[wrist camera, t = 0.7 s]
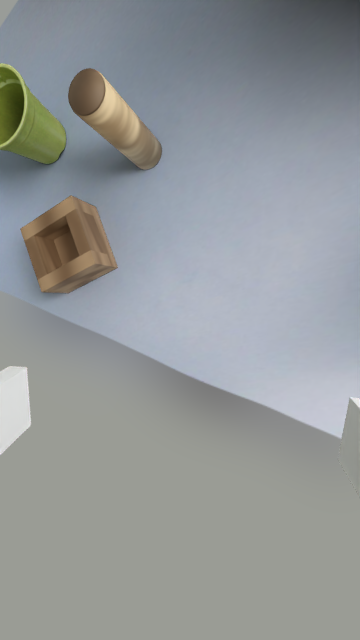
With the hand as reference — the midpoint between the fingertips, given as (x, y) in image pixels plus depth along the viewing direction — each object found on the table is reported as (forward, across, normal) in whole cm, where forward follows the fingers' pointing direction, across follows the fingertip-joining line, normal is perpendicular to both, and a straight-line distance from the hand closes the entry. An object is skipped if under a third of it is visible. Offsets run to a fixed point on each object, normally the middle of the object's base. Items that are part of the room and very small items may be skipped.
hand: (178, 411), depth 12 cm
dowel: (+31, -8, +18) cm, 36 cm away
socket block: (+31, -18, +5) cm, 36 cm away
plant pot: (+35, -24, +20) cm, 47 cm away
